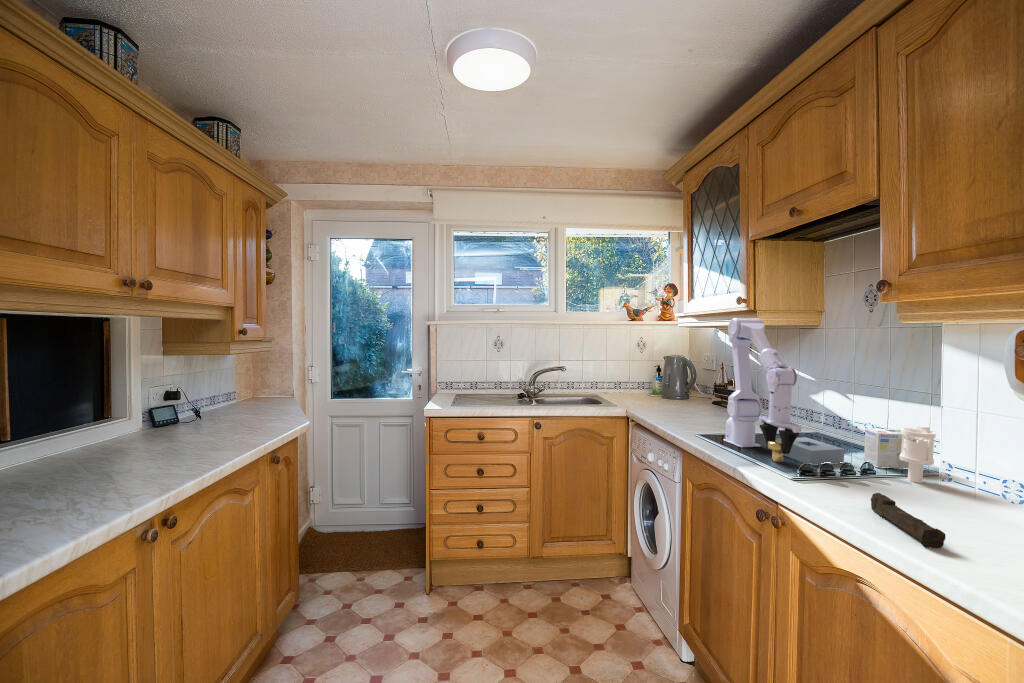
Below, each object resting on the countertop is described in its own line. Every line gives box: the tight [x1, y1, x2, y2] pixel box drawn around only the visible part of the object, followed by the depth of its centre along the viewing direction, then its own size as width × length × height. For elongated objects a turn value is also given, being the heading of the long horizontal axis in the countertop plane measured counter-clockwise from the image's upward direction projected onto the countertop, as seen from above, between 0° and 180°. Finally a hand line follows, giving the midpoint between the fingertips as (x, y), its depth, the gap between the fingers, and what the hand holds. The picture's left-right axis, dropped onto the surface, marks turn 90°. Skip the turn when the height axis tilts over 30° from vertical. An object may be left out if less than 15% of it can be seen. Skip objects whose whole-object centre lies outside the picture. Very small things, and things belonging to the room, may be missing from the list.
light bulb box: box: [863, 428, 918, 468], centre depth 138 cm, size 11×7×11 cm, turn 84°
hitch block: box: [775, 437, 845, 465], centre depth 145 cm, size 14×12×4 cm
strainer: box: [899, 425, 937, 484], centre depth 125 cm, size 7×7×15 cm
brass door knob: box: [767, 440, 784, 463], centre depth 141 cm, size 6×6×6 cm
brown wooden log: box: [870, 492, 946, 549], centre depth 97 cm, size 19×4×5 cm, turn 169°
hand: (777, 450), depth 141 cm, fingers closed on brass door knob, 6 cm apart
